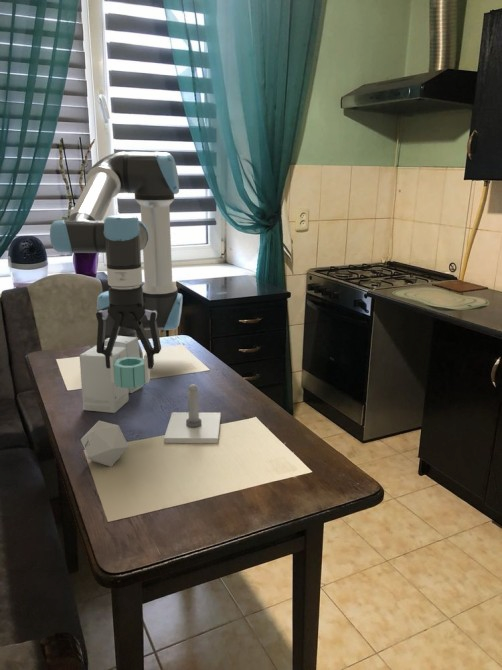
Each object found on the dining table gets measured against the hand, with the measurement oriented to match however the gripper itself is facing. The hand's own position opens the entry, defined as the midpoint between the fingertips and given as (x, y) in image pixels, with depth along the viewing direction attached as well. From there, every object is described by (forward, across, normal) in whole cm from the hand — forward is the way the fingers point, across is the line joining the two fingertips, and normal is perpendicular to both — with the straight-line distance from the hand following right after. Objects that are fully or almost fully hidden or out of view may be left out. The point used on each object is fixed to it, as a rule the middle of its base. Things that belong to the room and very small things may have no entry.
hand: (131, 380), depth 128 cm
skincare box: (+12, -7, +22) cm, 26 cm away
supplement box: (+11, -9, +10) cm, 18 cm away
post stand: (+11, +15, -4) cm, 19 cm away
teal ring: (0, 0, 0) cm, 0 cm away
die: (+11, -2, -19) cm, 22 cm away
